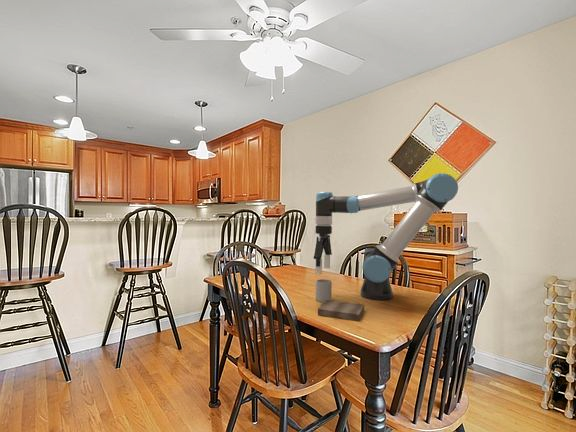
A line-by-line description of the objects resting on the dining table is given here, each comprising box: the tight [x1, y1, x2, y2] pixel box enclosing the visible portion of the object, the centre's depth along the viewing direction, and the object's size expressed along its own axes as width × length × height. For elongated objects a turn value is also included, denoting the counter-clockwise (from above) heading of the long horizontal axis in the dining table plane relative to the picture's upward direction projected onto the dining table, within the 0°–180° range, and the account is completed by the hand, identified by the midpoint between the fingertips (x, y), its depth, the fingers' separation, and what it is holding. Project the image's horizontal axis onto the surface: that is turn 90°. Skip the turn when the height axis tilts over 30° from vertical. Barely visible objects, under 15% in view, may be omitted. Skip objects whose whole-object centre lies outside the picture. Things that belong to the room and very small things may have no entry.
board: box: [317, 299, 365, 322], centre depth 122 cm, size 16×13×2 cm
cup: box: [315, 278, 333, 303], centre depth 141 cm, size 7×10×9 cm
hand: (322, 270), depth 140 cm, fingers open, 13 cm apart
